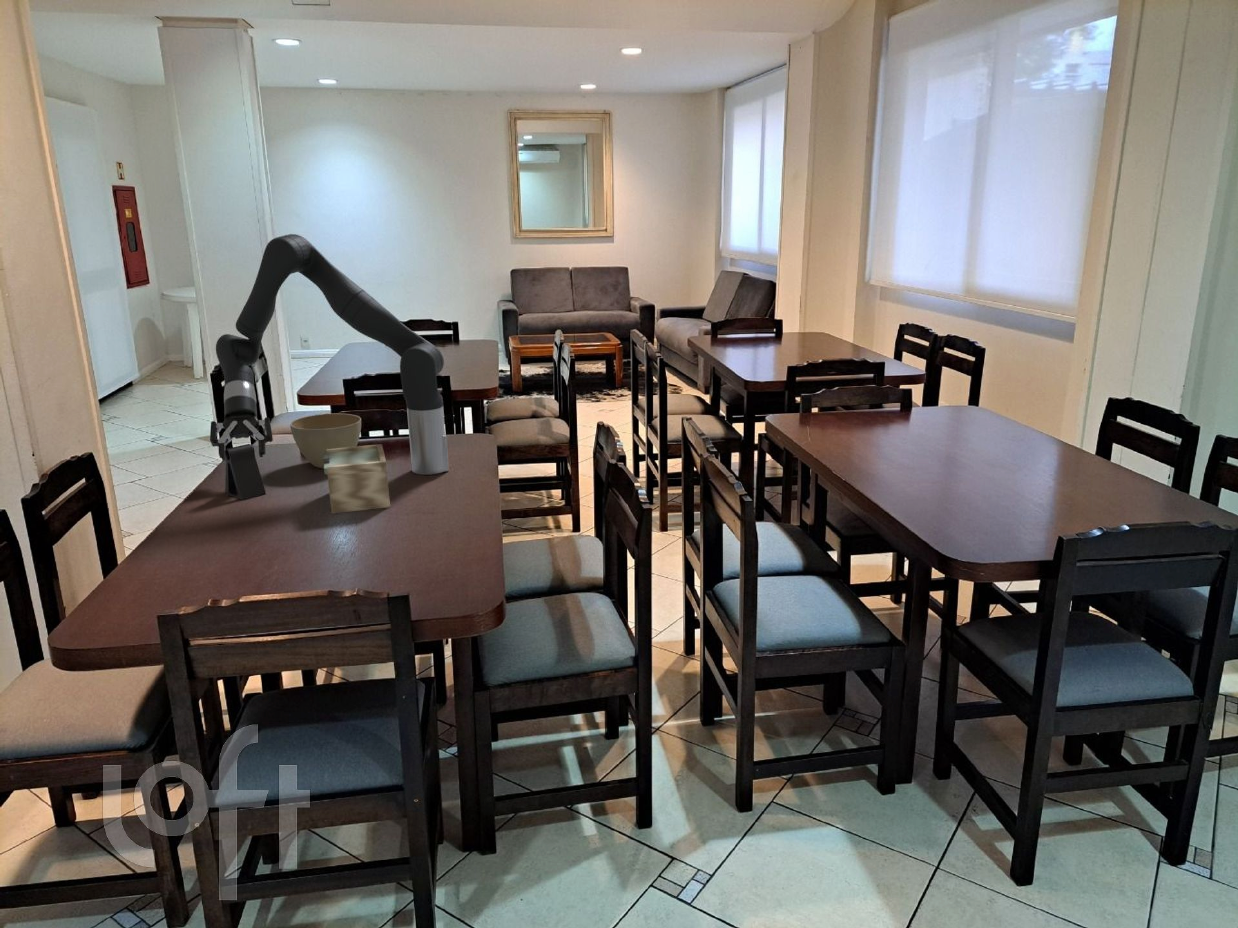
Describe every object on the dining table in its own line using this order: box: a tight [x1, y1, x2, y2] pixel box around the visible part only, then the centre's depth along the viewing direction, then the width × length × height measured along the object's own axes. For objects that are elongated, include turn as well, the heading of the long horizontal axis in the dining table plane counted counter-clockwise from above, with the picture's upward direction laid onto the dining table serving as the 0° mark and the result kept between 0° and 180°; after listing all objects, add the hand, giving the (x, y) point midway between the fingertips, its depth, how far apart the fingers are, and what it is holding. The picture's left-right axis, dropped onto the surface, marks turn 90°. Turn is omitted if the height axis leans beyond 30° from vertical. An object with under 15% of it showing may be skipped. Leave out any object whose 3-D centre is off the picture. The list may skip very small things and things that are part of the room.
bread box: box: [323, 443, 391, 514], centre depth 203 cm, size 14×16×12 cm
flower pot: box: [289, 413, 362, 469], centre depth 231 cm, size 18×18×12 cm
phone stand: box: [224, 443, 267, 501], centre depth 208 cm, size 9×6×12 cm, turn 48°
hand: (242, 457), depth 212 cm, fingers open, 8 cm apart
